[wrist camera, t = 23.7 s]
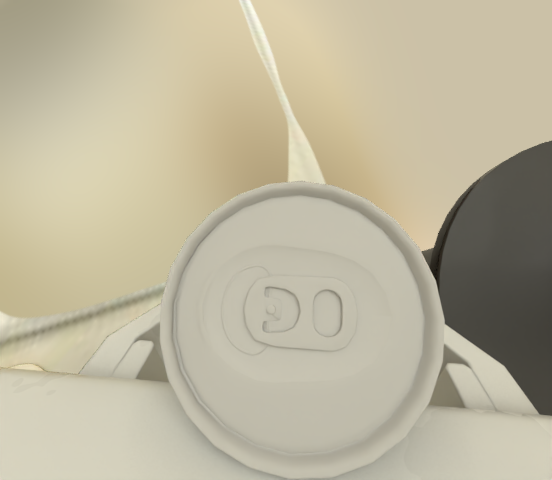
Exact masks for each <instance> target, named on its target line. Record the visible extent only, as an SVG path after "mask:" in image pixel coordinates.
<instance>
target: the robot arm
mask: <svg viewBox="0 0 552 480" xmlns="http://www.w3.org/2000/svg"><path fill="white" fill-rule="evenodd" d="M160 310H161V304H159V305H157V306H156V307H154V308H152V309H151V310H149V311H148V312H146V313H144V314H143V315H141V316H139V317H138V318H136V319H135V320H133V321H131V322H130V323H128V324H127V325H125V326H123V327H122V328H120V329H118V330H117V331H115V332H114V333H112V334H110V335H109V336H107V338H106V339H105V340H104V341H103V343H102V344H101V345H100V347H99V348H98V349H97V350H96V352H95V353H94V354H93V356H92V357H91V358H90V359H89V361H88V362H87V363H86V364H85V366H84V367H83V368H82V370H81V371H80V372H79V373H78V374H70V373H59V372H48V371H36V370H25V369H13V368H2V367H0V480H552V416H550V415H540V414H539V413H538V412H537V410H536V409H535V408H534V406H533V405H532V403H531V402H530V401H529V399H528V398H527V397H526V395H525V394H524V392H523V391H522V390H521V388H520V387H519V386H518V384H517V383H516V382H515V380H514V379H513V377H512V376H511V375H510V373H509V372H508V371H507V369H506V368H505V366H503V365H502V364H501V363H499V362H498V361H496V360H495V359H493V358H492V357H491V356H489V355H488V354H486V353H485V352H484V351H482V350H481V349H479V348H478V347H477V346H475V345H474V344H472V343H471V342H469V341H468V340H467V339H465V338H464V337H462V336H461V335H460V334H458V333H457V332H455V331H454V330H452V329H451V328H450V327H448V326H447V325H444V348H443V363H442V366H441V369H440V372H439V375H438V378H437V382H436V385H435V388H434V391H433V394H432V397H431V400H430V402H429V404H428V405H427V407H426V408H425V410H424V411H423V412H422V414H421V415H420V417H419V418H418V420H417V421H416V423H415V424H414V426H413V427H412V428H411V430H410V431H409V433H408V434H407V436H406V437H405V438H403V439H402V440H401V441H400V442H398V443H397V444H396V445H395V446H393V447H392V448H391V449H389V450H388V451H387V452H386V453H384V454H383V455H382V456H381V457H379V458H378V459H377V460H376V461H374V462H373V463H371V464H368V465H365V466H363V467H360V468H357V469H354V470H352V471H349V472H346V473H343V474H341V475H338V476H335V477H331V478H308V479H288V478H284V477H280V476H277V475H273V474H269V473H266V472H262V471H259V470H255V469H251V468H249V467H247V466H245V465H244V464H242V463H241V462H239V461H238V460H236V459H234V458H233V457H231V456H230V455H228V454H226V453H225V452H223V451H222V450H220V449H218V448H217V447H215V446H214V445H213V444H212V443H211V442H210V441H209V440H208V439H207V438H206V436H205V435H204V434H203V433H202V432H201V431H200V430H199V429H198V427H197V426H196V425H195V424H194V423H193V422H192V421H191V420H190V418H189V417H188V416H187V415H186V413H185V411H184V409H183V408H182V406H181V404H180V402H179V400H178V398H177V396H176V394H175V392H174V390H173V388H172V386H171V384H170V382H169V380H168V377H167V372H166V368H165V363H164V358H163V354H162V349H161V344H160Z"/></svg>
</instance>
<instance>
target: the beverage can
mask: <svg viewBox="0 0 552 480" xmlns="http://www.w3.org/2000/svg"><path fill="white" fill-rule="evenodd" d="M444 325H445V320H444V315H443V311H442V306H441V302H440V297H439V293H438V288H437V284H436V281H435V279H434V277H433V275H432V273H431V271H430V269H429V267H428V265H427V263H426V261H425V259H424V257H423V255H422V253H421V251H420V249H419V247H418V246H417V244H416V243H415V242H414V241H413V240H412V239H411V238H410V236H409V235H408V234H407V233H406V232H405V231H404V229H403V228H402V227H401V226H400V225H399V224H398V223H397V221H396V220H395V219H394V218H392V217H391V216H390V215H388V214H387V213H385V212H384V211H383V210H381V209H380V208H378V207H377V206H375V205H374V204H373V203H372V202H370V201H369V200H367V199H366V198H364V197H361V196H359V195H356V194H353V193H351V192H349V191H346V190H343V189H341V188H339V187H336V186H333V185H326V184H319V183H312V182H305V181H295V182H285V183H276V184H268V185H265V186H262V187H259V188H257V189H253V190H251V191H248V192H245V193H242V194H239V195H237V196H235V197H234V198H232V199H231V200H229V201H228V202H226V203H225V204H223V205H222V206H220V207H219V208H217V209H216V210H214V211H213V212H211V213H210V214H209V215H208V216H207V217H206V218H205V219H204V220H203V222H202V223H201V224H200V225H199V226H198V227H197V228H196V229H195V230H194V231H193V232H192V233H191V234H190V235H189V237H188V238H187V239H186V241H185V243H184V245H183V246H182V248H181V250H180V252H179V254H178V255H177V257H176V259H175V261H174V263H173V264H172V266H171V268H170V272H169V275H168V279H167V282H166V286H165V289H164V293H163V296H162V300H161V310H160V344H161V349H162V354H163V358H164V363H165V368H166V372H167V377H168V380H169V382H170V384H171V386H172V388H173V390H174V392H175V394H176V396H177V398H178V400H179V402H180V404H181V406H182V408H183V409H184V411H185V413H186V415H187V416H188V417H189V418H190V420H191V421H192V422H193V423H194V424H195V425H196V426H197V427H198V429H199V430H200V431H201V432H202V433H203V434H204V435H205V436H206V438H207V439H208V440H209V441H210V442H211V443H212V444H213V445H214V446H215V447H217V448H218V449H220V450H222V451H223V452H225V453H226V454H228V455H230V456H231V457H233V458H234V459H236V460H238V461H239V462H241V463H242V464H244V465H245V466H247V467H249V468H251V469H255V470H259V471H262V472H266V473H269V474H273V475H277V476H280V477H284V478H288V479H308V478H331V477H335V476H338V475H341V474H343V473H346V472H349V471H352V470H354V469H357V468H360V467H363V466H365V465H368V464H371V463H373V462H374V461H376V460H377V459H378V458H379V457H381V456H382V455H383V454H384V453H386V452H387V451H388V450H389V449H391V448H392V447H393V446H395V445H396V444H397V443H398V442H400V441H401V440H402V439H403V438H405V437H406V436H407V434H408V433H409V431H410V430H411V428H412V427H413V426H414V424H415V423H416V421H417V420H418V418H419V417H420V415H421V414H422V412H423V411H424V410H425V408H426V407H427V405H428V404H429V402H430V400H431V397H432V394H433V391H434V388H435V385H436V382H437V378H438V375H439V372H440V369H441V366H442V363H443V348H444Z"/></svg>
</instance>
